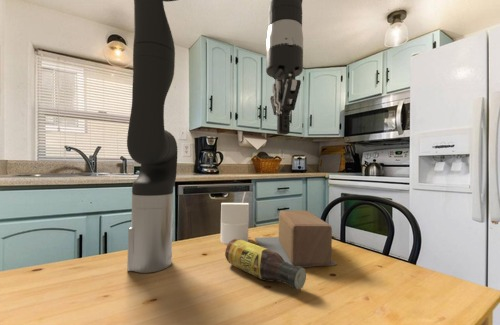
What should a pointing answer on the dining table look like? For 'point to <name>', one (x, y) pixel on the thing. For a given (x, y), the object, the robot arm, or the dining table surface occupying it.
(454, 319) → the dining table surface
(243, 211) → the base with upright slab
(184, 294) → the dining table surface
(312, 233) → the block
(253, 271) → the sauce bottle
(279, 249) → the mat
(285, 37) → the robot arm
